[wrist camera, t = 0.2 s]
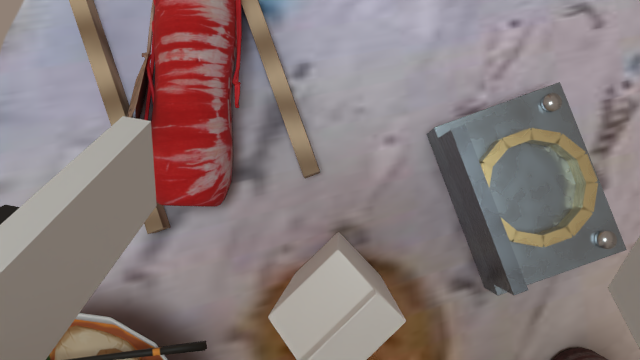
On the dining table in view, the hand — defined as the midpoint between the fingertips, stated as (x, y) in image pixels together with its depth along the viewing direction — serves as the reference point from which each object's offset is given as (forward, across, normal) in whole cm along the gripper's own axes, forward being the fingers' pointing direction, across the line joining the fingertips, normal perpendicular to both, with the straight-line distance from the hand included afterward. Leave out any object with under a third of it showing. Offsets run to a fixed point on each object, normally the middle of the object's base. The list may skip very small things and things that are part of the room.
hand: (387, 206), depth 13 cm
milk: (+25, 0, +26) cm, 36 cm away
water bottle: (+35, +18, +13) cm, 41 cm away
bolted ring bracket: (+31, -16, +17) cm, 39 cm away
